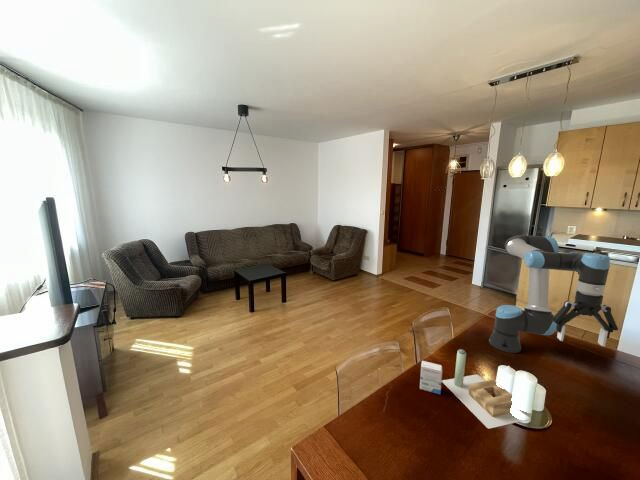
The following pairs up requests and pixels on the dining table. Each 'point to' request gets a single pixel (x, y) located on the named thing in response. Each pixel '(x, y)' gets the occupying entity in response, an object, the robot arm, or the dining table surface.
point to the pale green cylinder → (460, 368)
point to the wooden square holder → (491, 397)
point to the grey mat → (473, 406)
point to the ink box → (431, 377)
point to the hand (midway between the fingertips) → (580, 342)
